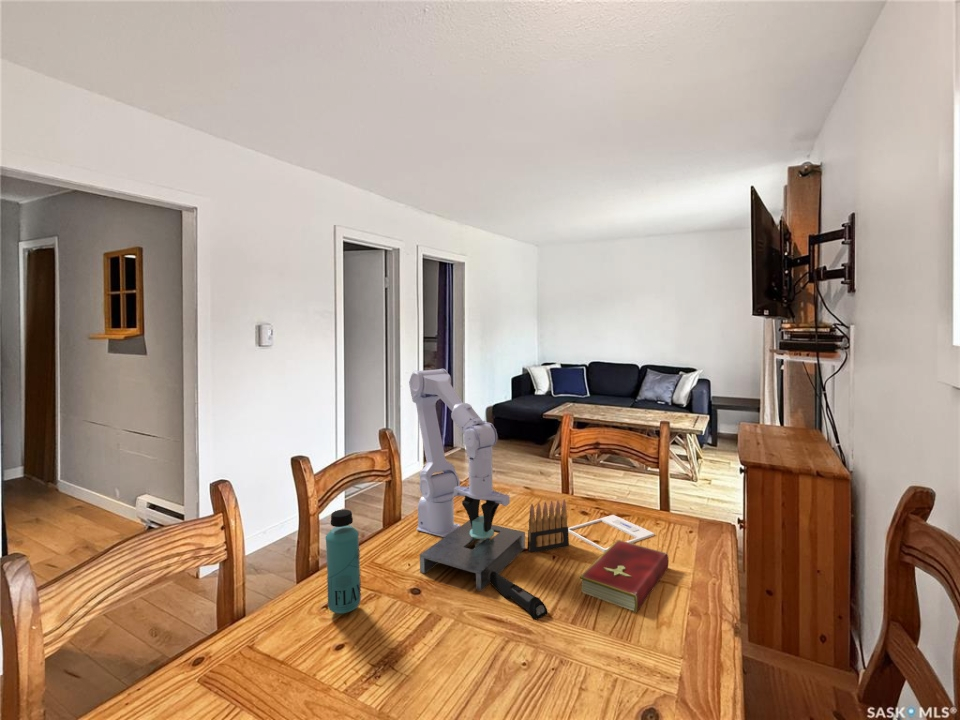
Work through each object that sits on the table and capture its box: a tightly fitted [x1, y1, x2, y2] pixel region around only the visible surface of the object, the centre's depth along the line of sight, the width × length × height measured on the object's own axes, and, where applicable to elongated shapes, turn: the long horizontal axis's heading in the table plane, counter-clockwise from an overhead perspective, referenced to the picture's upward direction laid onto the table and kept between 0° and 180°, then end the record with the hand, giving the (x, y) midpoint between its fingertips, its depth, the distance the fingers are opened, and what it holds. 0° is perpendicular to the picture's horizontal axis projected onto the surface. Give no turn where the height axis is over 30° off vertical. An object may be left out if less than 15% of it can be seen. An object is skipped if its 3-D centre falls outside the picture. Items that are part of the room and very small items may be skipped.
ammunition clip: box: [526, 498, 570, 554], centre depth 118 cm, size 11×2×12 cm, turn 108°
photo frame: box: [568, 514, 655, 553], centre depth 126 cm, size 15×1×18 cm
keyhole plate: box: [419, 519, 526, 592], centre depth 112 cm, size 16×22×4 cm
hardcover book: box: [579, 539, 670, 613], centre depth 103 cm, size 12×21×4 cm, turn 143°
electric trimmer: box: [489, 571, 548, 620], centre depth 96 cm, size 4×16×3 cm, turn 36°
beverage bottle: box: [325, 508, 362, 614], centre depth 92 cm, size 6×7×20 cm
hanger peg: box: [470, 514, 495, 548], centre depth 115 cm, size 6×6×7 cm
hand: (481, 528), depth 115 cm, fingers closed on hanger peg, 3 cm apart
